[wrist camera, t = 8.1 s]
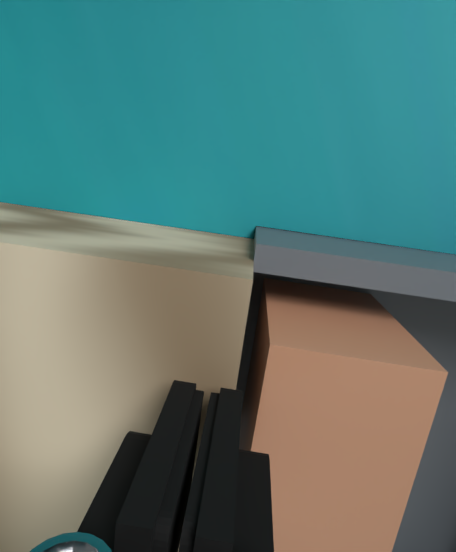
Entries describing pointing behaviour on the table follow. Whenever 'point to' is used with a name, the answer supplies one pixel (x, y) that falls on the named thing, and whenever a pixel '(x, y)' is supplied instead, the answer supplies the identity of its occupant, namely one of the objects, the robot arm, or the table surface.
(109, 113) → the table surface
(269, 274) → the box
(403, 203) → the table surface
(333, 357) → the salmon rectangular block
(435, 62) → the table surface
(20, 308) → the striped wooden block
